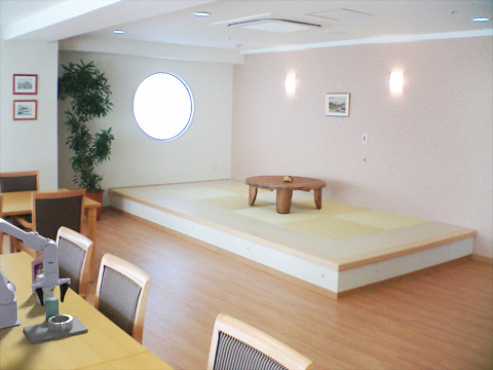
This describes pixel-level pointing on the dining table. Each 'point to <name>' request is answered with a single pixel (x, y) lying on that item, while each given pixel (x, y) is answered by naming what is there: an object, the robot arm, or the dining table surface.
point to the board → (44, 334)
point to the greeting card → (36, 269)
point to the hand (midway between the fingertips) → (52, 303)
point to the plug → (51, 307)
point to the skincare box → (44, 289)
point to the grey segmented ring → (60, 323)
